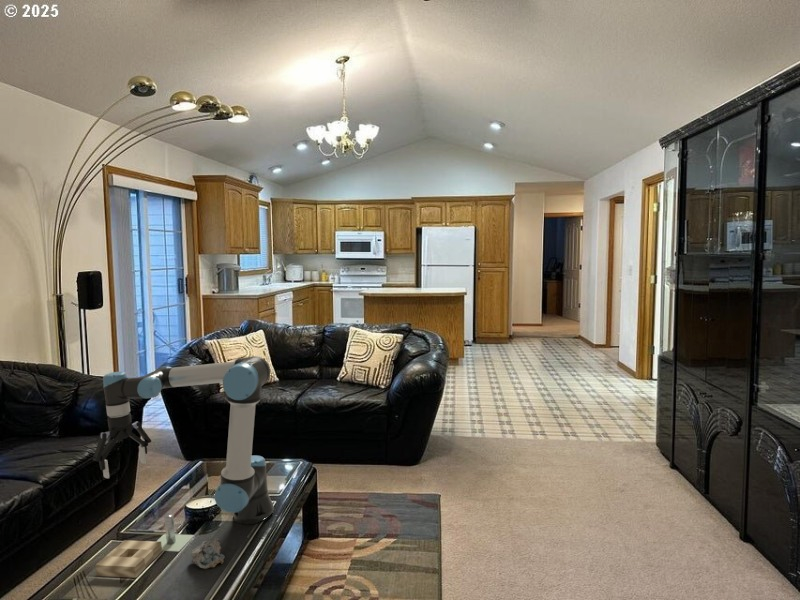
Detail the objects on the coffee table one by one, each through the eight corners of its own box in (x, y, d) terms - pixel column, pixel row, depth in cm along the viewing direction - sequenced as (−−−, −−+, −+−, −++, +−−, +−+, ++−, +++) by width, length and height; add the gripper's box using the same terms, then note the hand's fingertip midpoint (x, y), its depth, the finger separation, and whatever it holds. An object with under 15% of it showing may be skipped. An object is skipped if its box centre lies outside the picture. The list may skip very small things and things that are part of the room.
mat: (194, 536, 186) (194, 535, 186) (178, 552, 176) (178, 551, 176) (164, 534, 188) (164, 533, 188) (147, 551, 178) (147, 549, 178)
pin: (177, 540, 183) (175, 513, 182) (172, 544, 180) (170, 518, 179) (169, 539, 184) (167, 513, 183) (164, 544, 181) (162, 517, 180)
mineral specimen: (208, 582, 167) (217, 556, 176) (222, 569, 165) (232, 544, 174) (183, 568, 164) (194, 542, 174) (198, 554, 162) (208, 529, 172)
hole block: (162, 552, 177) (161, 541, 176) (136, 578, 163) (134, 566, 162) (125, 550, 179) (124, 540, 178) (96, 576, 165) (95, 565, 164)
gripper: (146, 403, 198) (152, 455, 200) (77, 423, 177) (84, 481, 180) (157, 405, 194) (163, 459, 196) (87, 426, 173) (95, 486, 175)
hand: (125, 470), depth 188 cm, fingers open, 13 cm apart
